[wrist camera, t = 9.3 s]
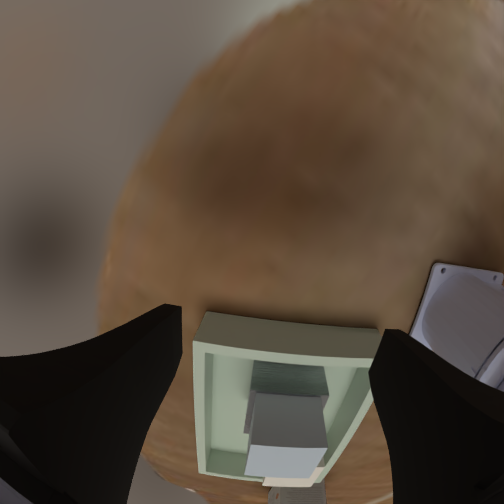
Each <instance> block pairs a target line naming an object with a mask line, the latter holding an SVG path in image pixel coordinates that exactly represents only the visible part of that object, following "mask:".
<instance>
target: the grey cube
mask: <svg viewBox="0 0 504 504" xmlns="http://www.w3.org/2000/svg"><path fill="white" fill-rule="evenodd" d="M327 449H328V444H327V436H326V429H325V422H324V415H323V408H322V401H321V397H303V396H288V395H276V394H265V393H256V397H255V402H254V408H253V414H252V419H251V425H250V431H249V440H248V448H247V456H246V464H245V472H244V475H249V476H260V477H274V478H310V476H311V475H312V473H313V472H314V470H315V468H316V467H317V465H318V464H319V462H320V460H321V459H322V457H323V455H324V454H325V452H326V450H327Z"/></svg>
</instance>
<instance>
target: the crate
mask: <svg viewBox="0 0 504 504" xmlns="http://www.w3.org/2000/svg"><path fill="white" fill-rule="evenodd" d="M381 339H382V336H381V335H380V333H379V331H378V329H368V328H352V327H338V326H325V325H314V324H303V323H293V322H284V321H275V320H267V319H259V318H251V317H243V316H236V315H229V314H222V313H216V312H209V311H206V313H205V315H204V317H203V320H202V322H201V324H200V326H199V328H198V331H197V333H196V335H195V337H194V339H193V380H194V408H195V428H196V443H197V457H198V469H199V473H202V474H207V475H213V476H219V477H225V478H232V479H240V480H249V481H260V482H263V477H260V476H249V475H244V472H245V464H246V456H247V448H248V440H249V434H244V433H243V431H244V424H245V417H246V409H247V402H248V395H249V388H250V382H251V375H252V368H253V362H254V360H260V361H269V362H278V363H289V364H300V365H314V366H324V370H325V375H326V380H327V385H328V391H329V398H328V400H327V403H326V405H325V407H324V410H323V415H324V422H325V429H326V436H327V444H328V449H327V450H326V452H325V454H324V464H325V468H324V469H323V471H322V472H321V473H320V475H319V476H318V478H317V479H316V480H315V482H314V483H320V482H321V481H322V480H323V479H324V477H325V476H326V475H327V473H328V472H329V470H330V469H331V468H332V466H333V465H334V463H335V462H336V461H337V459H338V458H339V456H340V455H341V453H342V452H343V450H344V449H345V447H346V446H347V444H348V443H349V441H350V439H351V438H352V436H353V435H354V433H355V431H356V430H357V428H358V426H359V425H360V423H361V421H362V420H363V418H364V416H365V414H366V413H367V411H368V409H369V407H370V405H371V403H372V402H373V396H372V392H371V387H370V381H369V375H368V371H369V369H370V367H371V364H372V362H373V359H374V357H375V354H376V352H377V349H378V347H379V344H380V342H381Z"/></svg>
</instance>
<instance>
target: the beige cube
mask: <svg viewBox="0 0 504 504" xmlns="http://www.w3.org/2000/svg"><path fill="white" fill-rule="evenodd" d="M324 468H325V464H324V455H323V457H322V459H321V460H320V462H319V464H318V465H317V467H316V468H315V470H314V472H313V473H312V475H311V476H310V478H274V477H263V483H262V486H276V487H311V486H312V485H313V483H314V482H315V480H316V479H317V478H318V476H319V475H320V473H321V472H322V471H323V469H324Z"/></svg>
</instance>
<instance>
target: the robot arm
mask: <svg viewBox="0 0 504 504" xmlns="http://www.w3.org/2000/svg"><path fill="white" fill-rule="evenodd" d="M442 268H443V271H442V272H441V269H442ZM503 278H504V275H503V274H502V273H501V272H495V271H489V270H483V269H477V268H470V267H464V266H458V265H451V264H445V263H435V264H434V265H433V267H432V270H431V273H430V277H429V280H428V283H427V287H426V290H425V293H424V296H423V299H422V302H421V305H420V308H419V311H418V313H417V316H416V319H415V321H414V324H413V327H412V329H411V332H410V334H409V335H408V334H407V333H405V332H403V331H401V330H399V329H385V331H384V334H383V336H382V339H381V342H380V344H379V347H378V349H377V352H376V354H375V357H374V359H373V362H372V364H371V367H370V369H369V371H368V375H369V381H370V387H371V392H372V396H373V400H374V403H375V406H376V409H377V412H378V415H379V418H380V422H381V425H382V428H383V431H384V434H385V438H386V441H387V445H388V449H389V455H390V462H391V469H392V481H393V504H504V286H502V282H503ZM432 350H433V351H434V352H433V351H432ZM182 353H183V352H182V306H176V305H170V304H163V305H160V306H158V307H156V308H154V309H152V310H151V311H149V312H147V313H145V314H143V315H141V316H139V317H137V318H135V319H133V320H131V321H130V322H128V323H126V324H124V325H122V326H119V327H117V328H115V329H113V330H111V331H108V332H106V333H104V334H102V335H100V336H97V337H95V338H92V339H90V340H87V341H84V342H81V343H78V344H75V345H72V346H68V347H65V348H60V349H56V350H52V351H47V352H43V353H37V354H30V355H22V356H10V357H0V504H127V499H128V495H129V491H130V487H131V483H132V479H133V475H134V472H135V468H136V465H137V462H138V458H139V455H140V452H141V449H142V446H143V443H144V440H145V437H146V435H147V432H148V429H149V427H150V425H151V423H152V420H153V419H154V417H155V415H156V413H157V411H158V409H159V407H160V405H161V403H162V401H163V399H164V397H165V395H166V393H167V391H168V389H169V387H170V385H171V383H172V381H173V379H174V377H175V374H176V371H177V368H178V366H179V363H180V359H181V356H182Z"/></svg>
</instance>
